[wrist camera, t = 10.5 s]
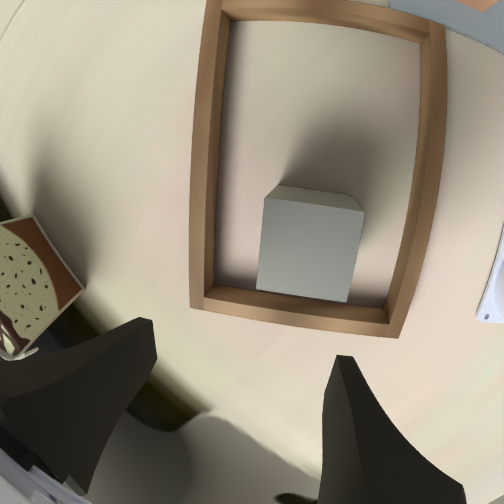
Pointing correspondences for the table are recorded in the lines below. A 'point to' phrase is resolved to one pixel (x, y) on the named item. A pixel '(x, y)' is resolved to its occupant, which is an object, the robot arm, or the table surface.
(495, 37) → the slate mat
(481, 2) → the labelled block
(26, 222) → the food container
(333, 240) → the plain block
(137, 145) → the table surface
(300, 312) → the walnut bin
